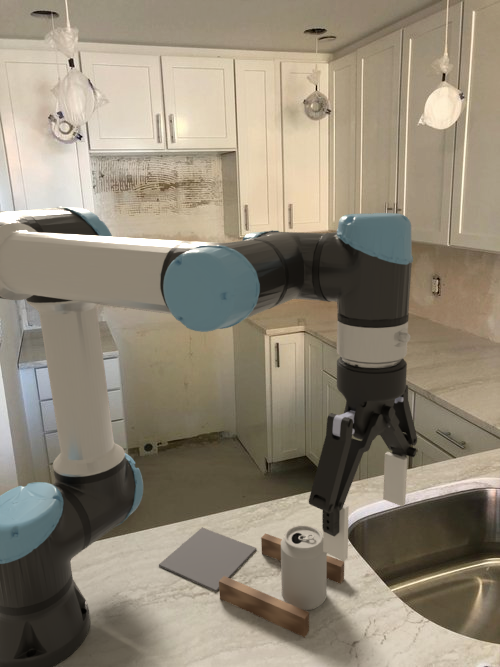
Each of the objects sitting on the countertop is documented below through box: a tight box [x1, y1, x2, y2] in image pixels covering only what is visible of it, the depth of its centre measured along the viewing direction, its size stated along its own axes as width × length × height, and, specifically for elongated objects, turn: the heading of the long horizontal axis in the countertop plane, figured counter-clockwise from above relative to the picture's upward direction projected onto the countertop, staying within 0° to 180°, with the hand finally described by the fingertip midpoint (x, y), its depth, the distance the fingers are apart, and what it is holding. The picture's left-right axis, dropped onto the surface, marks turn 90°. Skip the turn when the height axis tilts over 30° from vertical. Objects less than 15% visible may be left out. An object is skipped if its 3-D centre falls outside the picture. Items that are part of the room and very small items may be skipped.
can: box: [280, 524, 328, 611], centre depth 90 cm, size 8×8×12 cm
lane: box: [218, 533, 345, 638], centre depth 93 cm, size 16×15×4 cm
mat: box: [158, 527, 257, 593], centre depth 102 cm, size 13×13×1 cm
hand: (366, 526), depth 65 cm, fingers open, 13 cm apart
